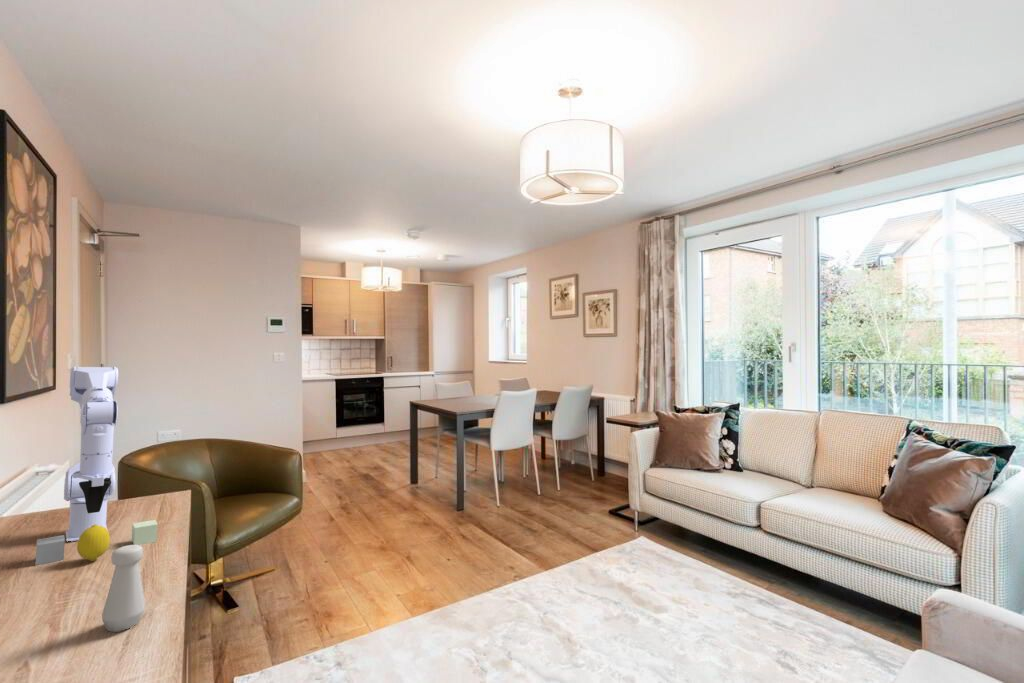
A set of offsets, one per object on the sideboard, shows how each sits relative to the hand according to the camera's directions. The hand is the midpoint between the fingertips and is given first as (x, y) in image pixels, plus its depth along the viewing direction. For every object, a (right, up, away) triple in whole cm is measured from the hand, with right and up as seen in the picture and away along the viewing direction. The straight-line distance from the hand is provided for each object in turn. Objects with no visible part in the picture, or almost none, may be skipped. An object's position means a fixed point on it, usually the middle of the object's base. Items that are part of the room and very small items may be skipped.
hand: (93, 512), depth 113 cm
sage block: (+6, -10, +7) cm, 14 cm away
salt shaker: (+32, -9, -31) cm, 45 cm away
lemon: (+4, -10, -5) cm, 11 cm away
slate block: (-6, -9, -5) cm, 12 cm away
